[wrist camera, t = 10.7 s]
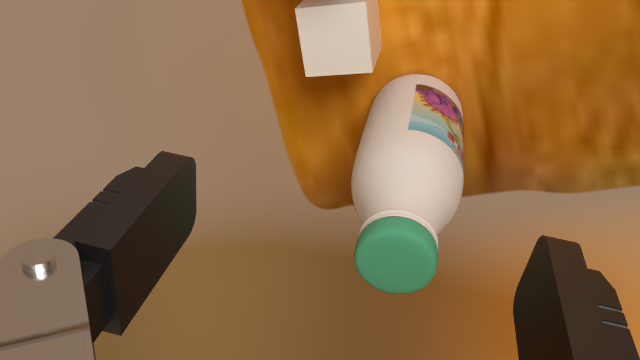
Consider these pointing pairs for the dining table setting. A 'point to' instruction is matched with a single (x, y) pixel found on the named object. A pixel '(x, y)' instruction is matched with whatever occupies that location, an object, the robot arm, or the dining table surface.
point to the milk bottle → (407, 181)
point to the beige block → (339, 36)
